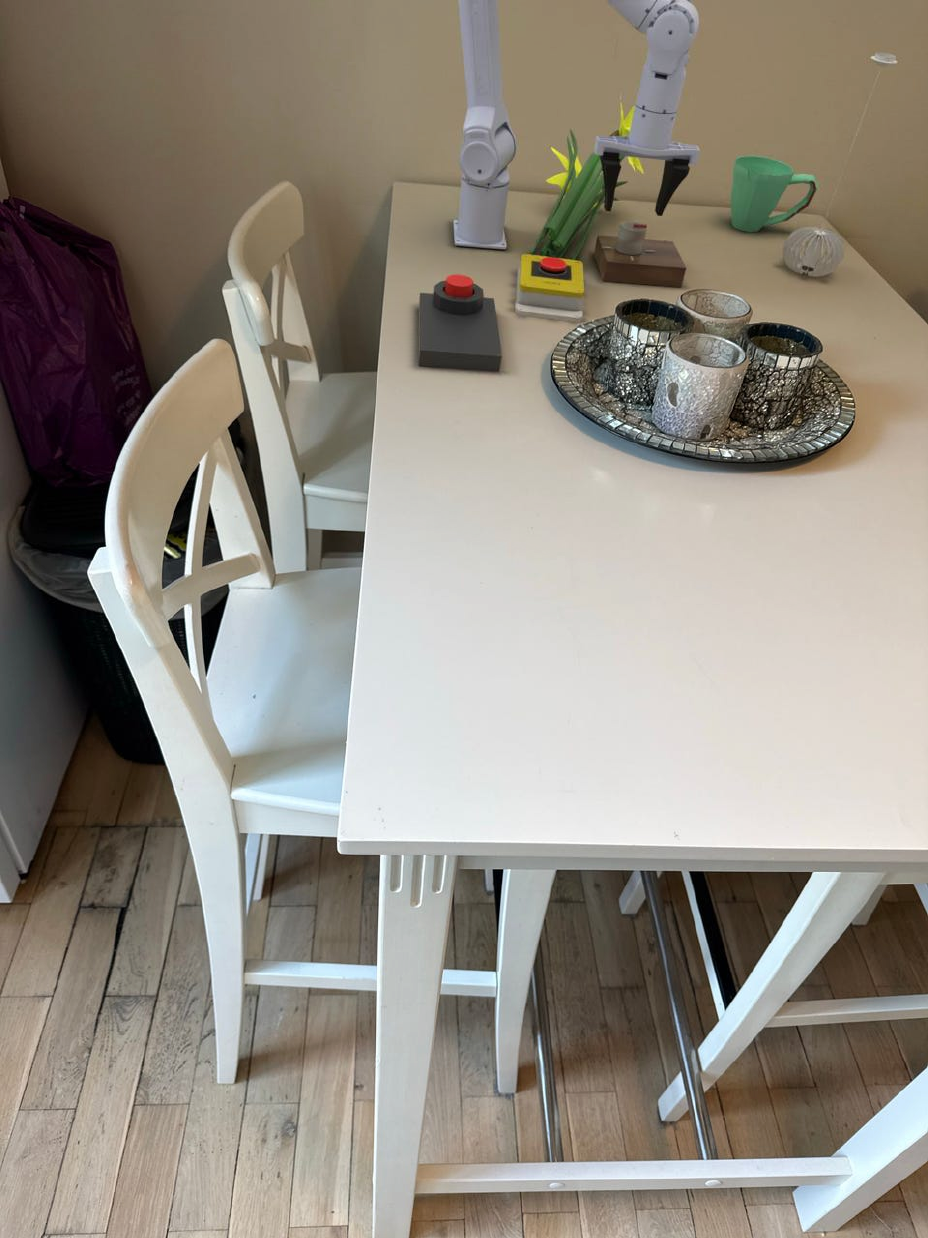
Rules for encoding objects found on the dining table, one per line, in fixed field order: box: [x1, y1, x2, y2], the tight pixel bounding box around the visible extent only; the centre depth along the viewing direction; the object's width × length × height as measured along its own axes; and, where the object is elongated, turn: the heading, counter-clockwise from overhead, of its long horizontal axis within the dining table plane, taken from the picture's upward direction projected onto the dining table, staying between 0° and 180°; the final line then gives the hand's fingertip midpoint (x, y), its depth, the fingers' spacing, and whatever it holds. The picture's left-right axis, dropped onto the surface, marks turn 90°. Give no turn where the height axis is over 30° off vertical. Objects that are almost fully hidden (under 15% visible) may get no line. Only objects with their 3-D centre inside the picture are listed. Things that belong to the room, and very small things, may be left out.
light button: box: [445, 274, 474, 298], centre depth 115 cm, size 4×4×2 cm
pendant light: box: [782, 52, 899, 278], centre depth 132 cm, size 9×9×30 cm
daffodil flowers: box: [528, 94, 645, 260], centre depth 141 cm, size 17×15×35 cm
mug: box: [730, 155, 819, 233], centre depth 150 cm, size 15×10×10 cm
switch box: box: [418, 280, 503, 373], centre depth 113 cm, size 17×10×4 cm, turn 2°
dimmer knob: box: [615, 220, 648, 255], centre depth 132 cm, size 4×4×4 cm
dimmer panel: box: [593, 234, 687, 288], centre depth 134 cm, size 10×12×3 cm
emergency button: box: [514, 253, 585, 323], centre depth 124 cm, size 9×4×15 cm
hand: (633, 211), depth 129 cm, fingers open, 7 cm apart
